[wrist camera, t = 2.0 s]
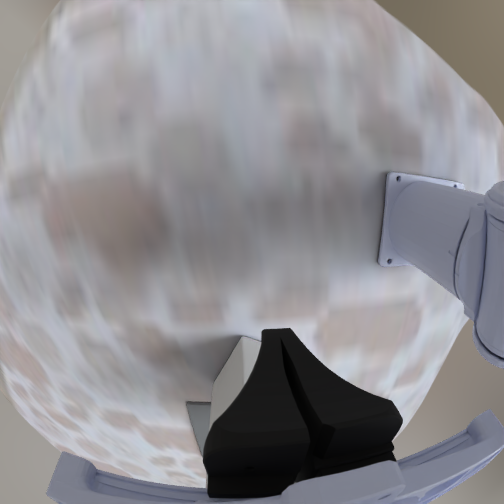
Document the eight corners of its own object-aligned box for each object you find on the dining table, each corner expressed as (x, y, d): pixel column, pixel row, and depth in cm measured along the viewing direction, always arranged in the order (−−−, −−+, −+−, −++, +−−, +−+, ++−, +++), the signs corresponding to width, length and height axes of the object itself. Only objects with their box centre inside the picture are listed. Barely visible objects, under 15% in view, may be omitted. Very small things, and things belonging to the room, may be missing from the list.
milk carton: (273, 399, 27) (297, 560, 9) (212, 382, 25) (202, 561, 7) (308, 356, 25) (366, 541, 7) (241, 333, 23) (252, 559, 5)
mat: (329, 395, 27) (330, 397, 27) (311, 450, 32) (311, 452, 31) (186, 401, 26) (186, 404, 26) (202, 456, 31) (202, 458, 30)
